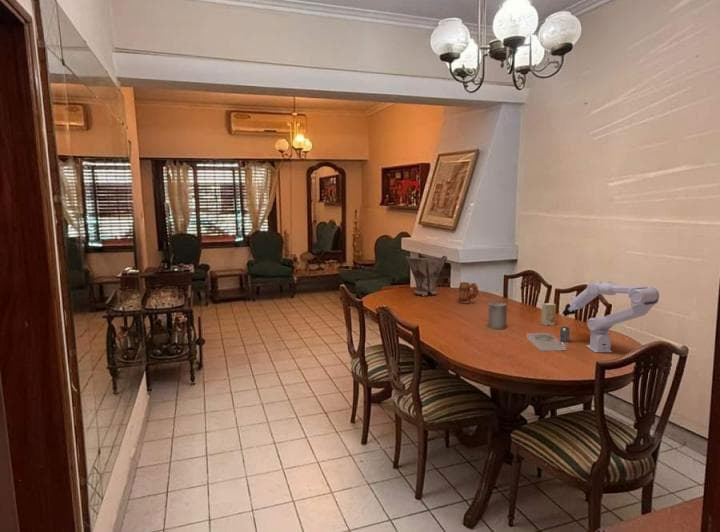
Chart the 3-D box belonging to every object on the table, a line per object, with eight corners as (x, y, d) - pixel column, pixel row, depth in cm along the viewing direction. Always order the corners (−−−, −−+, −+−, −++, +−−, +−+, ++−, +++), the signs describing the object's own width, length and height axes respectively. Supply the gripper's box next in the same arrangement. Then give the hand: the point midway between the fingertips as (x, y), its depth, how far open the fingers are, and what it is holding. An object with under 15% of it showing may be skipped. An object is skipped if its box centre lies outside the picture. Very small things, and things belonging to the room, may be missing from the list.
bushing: (570, 342, 227) (571, 328, 226) (561, 342, 227) (562, 329, 226) (567, 339, 232) (567, 326, 231) (558, 339, 232) (558, 326, 231)
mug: (455, 302, 315) (455, 281, 313) (462, 301, 321) (462, 280, 318) (473, 306, 305) (473, 284, 302) (480, 304, 310) (480, 282, 308)
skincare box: (545, 326, 256) (546, 305, 254) (540, 324, 260) (541, 303, 258) (555, 325, 258) (556, 304, 256) (550, 323, 262) (551, 302, 260)
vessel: (450, 292, 349) (450, 254, 345) (441, 299, 325) (441, 258, 321) (413, 290, 361) (413, 252, 357) (402, 296, 337) (402, 257, 333)
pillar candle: (500, 324, 262) (501, 298, 260) (509, 328, 252) (510, 302, 250) (485, 325, 260) (485, 300, 258) (493, 330, 250) (494, 303, 248)
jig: (565, 350, 216) (566, 345, 215) (540, 350, 216) (540, 345, 216) (549, 337, 236) (550, 332, 235) (526, 337, 236) (526, 333, 236)
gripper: (586, 285, 228) (569, 299, 239) (570, 298, 221) (554, 311, 232) (596, 296, 226) (580, 309, 236) (581, 309, 218) (564, 322, 229)
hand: (568, 311), depth 234 cm, fingers open, 7 cm apart
